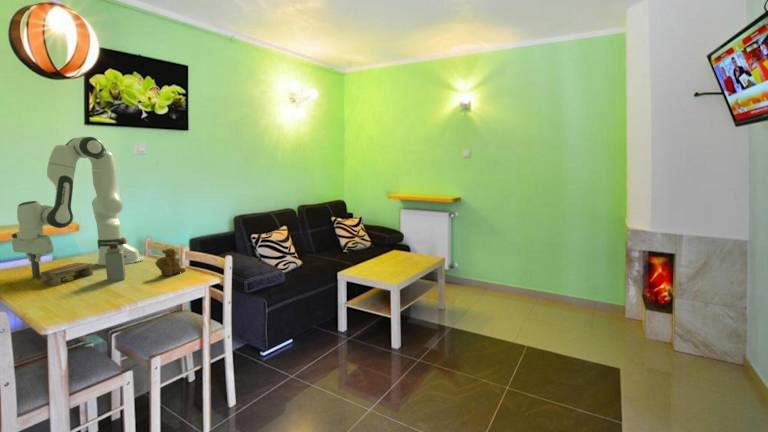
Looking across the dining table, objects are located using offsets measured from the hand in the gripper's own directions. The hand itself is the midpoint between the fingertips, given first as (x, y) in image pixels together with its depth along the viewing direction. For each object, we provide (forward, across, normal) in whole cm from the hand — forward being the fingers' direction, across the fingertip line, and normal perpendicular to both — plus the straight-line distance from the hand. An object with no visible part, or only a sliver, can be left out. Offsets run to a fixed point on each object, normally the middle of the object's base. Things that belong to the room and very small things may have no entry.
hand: (34, 261), depth 194 cm
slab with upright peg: (+8, -5, 0) cm, 10 cm away
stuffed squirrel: (+8, -61, -18) cm, 64 cm away
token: (+8, -19, 0) cm, 21 cm away
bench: (+8, -19, 0) cm, 20 cm away
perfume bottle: (+8, -41, -5) cm, 42 cm away
